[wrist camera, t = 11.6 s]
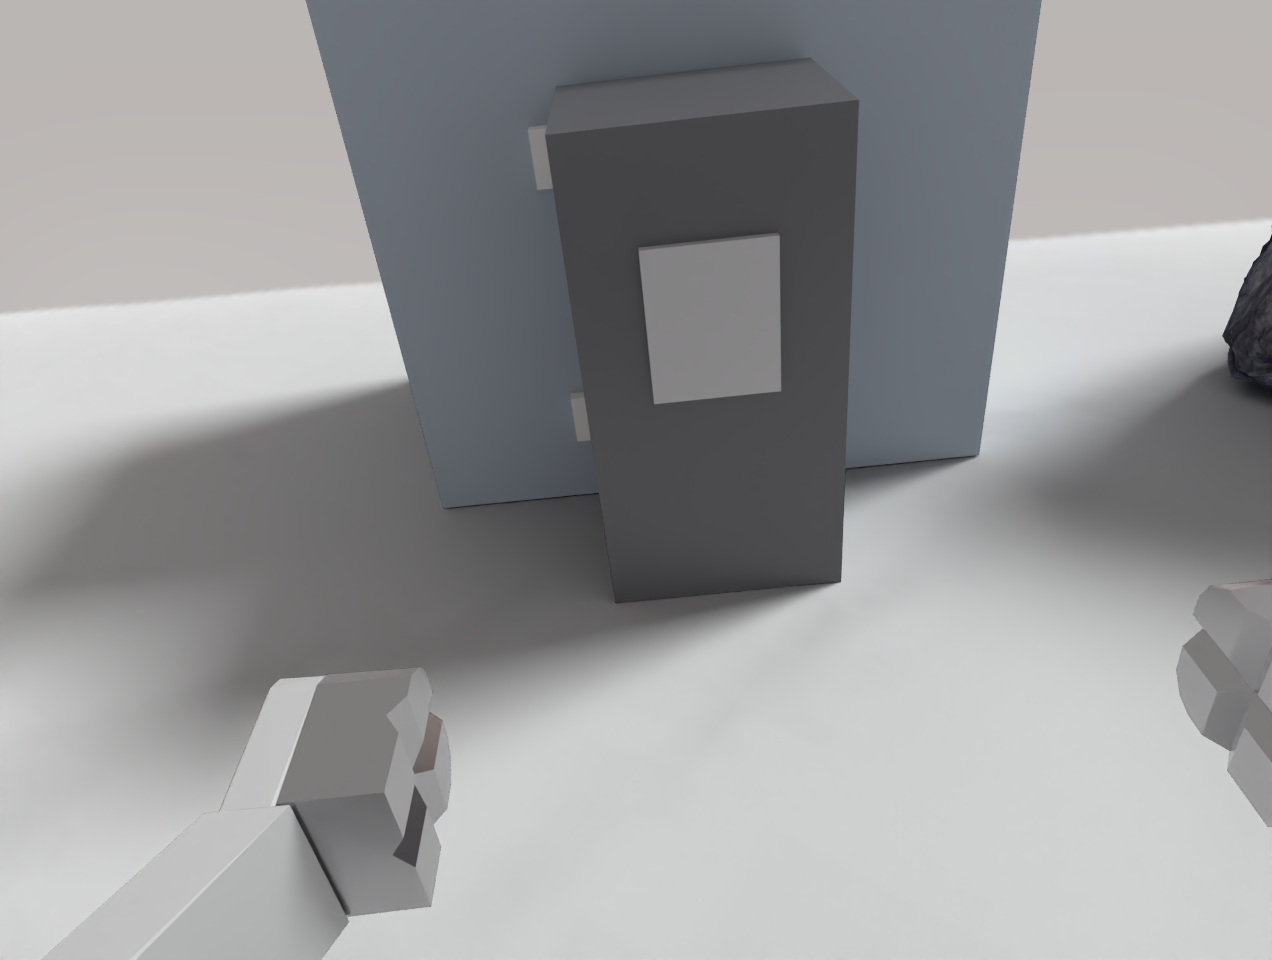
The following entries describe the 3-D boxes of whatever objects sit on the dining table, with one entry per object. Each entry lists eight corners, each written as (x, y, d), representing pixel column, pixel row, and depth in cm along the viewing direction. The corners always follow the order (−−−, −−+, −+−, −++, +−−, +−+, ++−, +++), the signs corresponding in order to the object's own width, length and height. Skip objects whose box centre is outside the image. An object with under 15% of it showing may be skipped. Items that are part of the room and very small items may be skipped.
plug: (615, 607, 20) (544, 137, 14) (612, 421, 26) (562, 53, 21) (842, 585, 20) (861, 101, 14) (780, 404, 26) (777, 28, 21)
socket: (441, 514, 23) (299, -5, 17) (479, 362, 31) (392, -41, 24) (983, 461, 23) (1061, -94, 16) (890, 320, 30) (919, -103, 23)
